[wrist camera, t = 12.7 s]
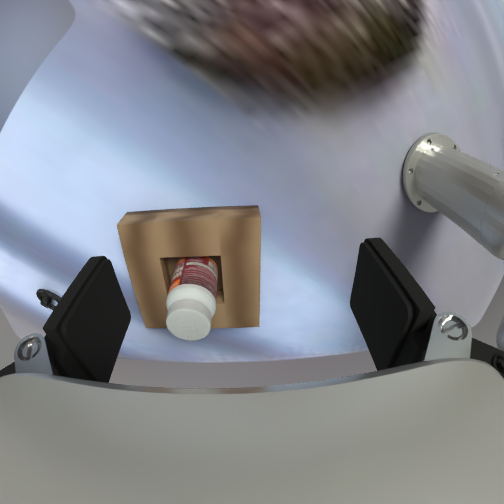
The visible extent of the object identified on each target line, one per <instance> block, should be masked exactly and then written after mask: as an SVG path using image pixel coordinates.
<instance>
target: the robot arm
mask: <svg viewBox="0 0 504 504" xmlns="http://www.w3.org/2000/svg"><path fill="white" fill-rule="evenodd" d="M403 184H404V189H405V192H406V195H407V197H408V199H409V200H410V201H411V202H412V204H413V205H415V206H416V207H417V208H419V209H420V210H422V211H425V212H437V211H439V212H441V213H442V214H443V215H445V216H446V217H447V218H449V219H450V220H451V221H453V222H454V223H455V224H456V225H458V226H459V227H460V228H462V229H463V230H464V231H465V232H466V233H468V234H469V235H470V236H471V237H473V238H474V239H475V240H476V241H477V242H479V243H480V244H481V245H482V246H483V247H484V248H486V249H487V250H488V251H489V252H490V253H491V254H493V255H494V256H495V257H497V258H499V259H502V260H504V171H502V170H500V169H498V168H496V167H494V166H492V165H490V164H488V163H486V162H484V161H481V160H479V159H477V158H475V157H472V156H470V155H467V154H465V153H463V152H461V151H460V149H459V147H458V145H457V144H456V143H455V142H454V141H453V140H452V139H451V138H449V137H448V136H445V135H443V134H439V133H431V134H427V135H425V136H423V137H421V138H420V139H419V140H418V141H416V142H415V144H414V145H413V146H412V147H411V149H410V151H409V153H408V155H407V157H406V160H405V164H404V169H403ZM350 306H351V309H352V312H353V314H354V316H355V318H356V321H357V323H358V325H359V328H360V330H361V332H362V334H363V337H364V339H365V342H366V344H367V346H368V349H369V351H370V354H371V356H372V358H373V361H374V363H375V366H376V368H377V371H375V372H370V373H364V374H358V375H353V376H347V377H341V378H335V379H329V380H322V381H314V382H307V383H298V384H288V385H277V386H264V387H249V388H223V389H222V388H221V389H188V388H187V389H185V388H161V387H144V386H132V385H122V384H112V383H109V380H110V377H111V374H112V371H113V367H114V365H115V362H116V359H117V356H118V353H119V350H120V348H121V345H122V342H123V339H124V337H125V334H126V331H127V329H128V326H129V323H130V320H131V315H130V311H129V309H128V306H127V304H126V301H125V299H124V296H123V293H122V291H121V288H120V285H119V283H118V280H117V277H116V274H115V272H114V269H113V266H112V263H111V261H110V260H109V259H108V260H107V258H106V257H105V256H98V257H91V258H90V259H89V260H88V262H87V263H86V264H85V266H84V267H83V268H82V270H81V271H80V272H79V274H78V275H77V277H76V278H75V279H74V281H73V282H72V284H71V285H70V286H69V288H68V289H67V291H66V292H65V294H64V295H63V297H62V298H61V300H60V301H59V303H58V304H57V306H56V307H55V309H54V310H53V312H52V314H51V315H50V317H49V318H48V320H47V322H46V323H45V325H44V327H43V330H44V331H45V333H46V336H45V338H44V337H43V336H42V335H41V334H37V333H36V334H31V335H28V336H26V337H25V338H23V339H22V340H21V341H20V342H19V344H18V345H17V347H16V349H15V352H14V360H15V362H13V363H12V364H10V365H8V366H7V367H5V368H3V369H2V370H0V504H504V316H503V318H502V320H501V322H500V325H499V327H498V330H497V335H496V342H497V348H498V349H497V348H494V347H492V346H490V345H487V344H485V343H483V342H481V341H478V340H476V339H473V338H472V330H471V327H470V324H469V323H468V322H467V321H466V319H464V318H463V317H462V316H460V315H458V314H456V313H453V312H442V313H439V314H438V315H437V314H436V313H435V311H434V309H435V306H434V305H433V303H432V302H431V301H430V299H429V298H428V297H427V295H426V294H425V292H424V291H423V290H422V288H421V287H420V286H419V284H418V283H417V282H416V281H415V279H414V278H413V277H412V275H411V274H410V273H409V271H408V270H407V269H406V268H405V266H404V265H403V264H402V263H401V261H400V260H399V259H398V258H397V257H396V255H395V254H394V253H393V252H392V250H391V249H390V248H389V247H388V246H387V245H386V243H385V242H384V241H383V240H382V239H381V238H368V239H365V241H364V243H361V244H360V248H359V254H358V260H357V266H356V272H355V278H354V283H353V288H352V293H351V298H350Z"/></svg>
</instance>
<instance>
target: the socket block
mask: <svg viewBox="0 0 504 504" xmlns="http://www.w3.org/2000/svg"><path fill="white" fill-rule="evenodd" d="M117 228H118V232H119V237H120V241H121V245H122V249H123V253H124V257H125V261H126V265H127V268H128V272H129V275H130V279H131V282H132V286H133V289H134V292H135V296H136V299H137V302H138V305H139V308H140V311H141V314H142V317H143V320H144V323H145V326H146V328H167V325H166V319H167V313H168V310H167V306H166V300H167V296H168V292H169V288H170V285H171V281H172V277H173V274H174V270H175V267H176V264H177V262H178V260H179V259H180V258H181V257H194V256H209V257H210V258H211V259H213V261H214V262H215V263H216V265H217V268H218V280H217V295H216V311H215V314H214V316H213V317H212V319H211V328H241V327H259V317H260V253H261V216H260V211H259V207H258V206H226V207H202V208H183V209H166V210H151V211H138V212H127V213H126V214H125V215H124V217H123V218H122V219H121V220H120V221H119V223H118V224H117Z"/></svg>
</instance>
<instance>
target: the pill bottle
mask: <svg viewBox="0 0 504 504" xmlns="http://www.w3.org/2000/svg"><path fill="white" fill-rule="evenodd" d="M217 280H218V268H217V265H216V263H215V262H214V261H213V259H211V258H210V257H209V256H194V257H181V258H180V259H179V260H178V262H177V264H176V267H175V270H174V274H173V277H172V281H171V285H170V288H169V292H168V296H167V300H166V306H167V310H168V313H167V319H166V325H167V328H168V330H169V331H170V332H171V333H172V334H173V335H174V336H176V337H178V338H180V339H183V340H189V341H194V340H199V339H202V338H204V337H205V336H207V335H208V333H209V332H210V329H211V319H212V317H213V316H214V314H215V311H216V295H217Z"/></svg>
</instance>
